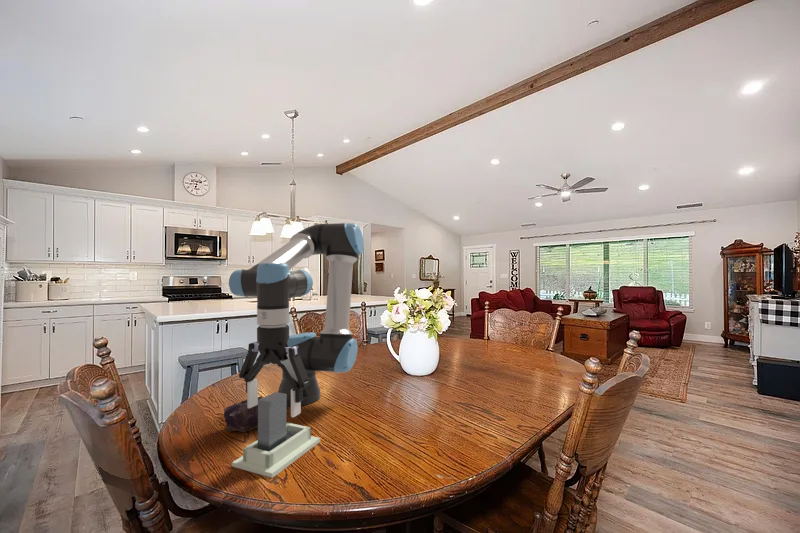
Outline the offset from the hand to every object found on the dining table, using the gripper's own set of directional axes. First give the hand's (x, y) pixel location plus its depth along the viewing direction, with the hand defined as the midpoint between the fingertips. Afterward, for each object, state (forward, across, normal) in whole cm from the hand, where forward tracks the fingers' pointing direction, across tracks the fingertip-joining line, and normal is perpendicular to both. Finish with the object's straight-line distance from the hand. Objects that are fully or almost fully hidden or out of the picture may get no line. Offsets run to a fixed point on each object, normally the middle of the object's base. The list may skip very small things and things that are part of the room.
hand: (273, 410), depth 87 cm
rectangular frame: (+12, 0, +2) cm, 12 cm away
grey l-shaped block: (+10, 0, +2) cm, 11 cm away
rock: (+12, -18, +9) cm, 23 cm away
